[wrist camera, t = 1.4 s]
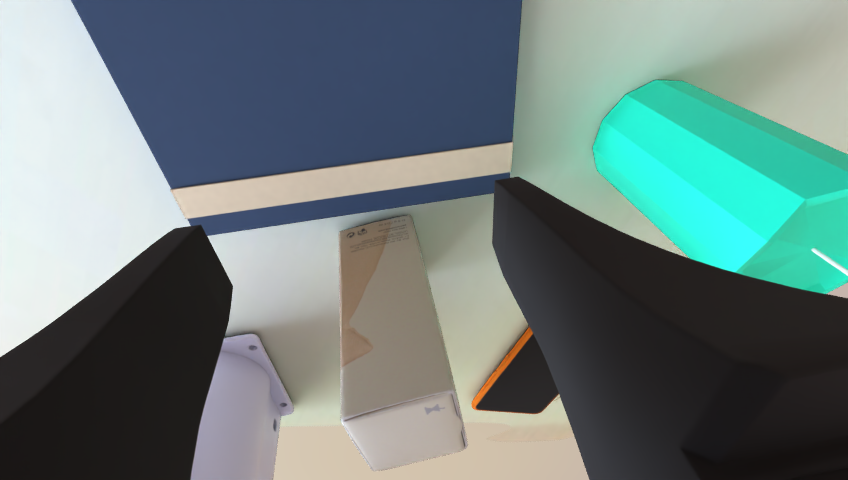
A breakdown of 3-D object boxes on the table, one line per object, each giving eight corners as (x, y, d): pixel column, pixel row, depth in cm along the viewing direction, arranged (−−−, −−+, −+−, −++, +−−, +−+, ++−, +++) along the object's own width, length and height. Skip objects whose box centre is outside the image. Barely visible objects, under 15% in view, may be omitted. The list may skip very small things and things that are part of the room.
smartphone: (655, 280, 30) (662, 288, 29) (536, 406, 38) (540, 415, 37) (574, 261, 27) (580, 269, 26) (466, 401, 35) (468, 410, 35)
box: (337, 229, 22) (334, 417, 14) (412, 211, 23) (457, 387, 14) (361, 293, 26) (372, 478, 17) (427, 277, 26) (470, 453, 17)
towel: (501, 179, 22) (509, 192, 21) (203, 223, 21) (196, 238, 20) (522, -183, 14) (537, -192, 13) (14, -148, 12) (-15, -155, 11)
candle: (713, 65, 20) (1036, 185, 11) (685, 170, 24) (907, 326, 15) (597, 93, 20) (822, 238, 11) (588, 194, 24) (748, 366, 14)
